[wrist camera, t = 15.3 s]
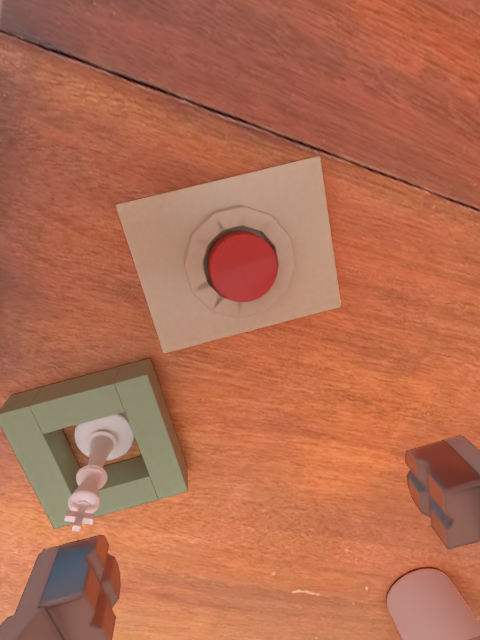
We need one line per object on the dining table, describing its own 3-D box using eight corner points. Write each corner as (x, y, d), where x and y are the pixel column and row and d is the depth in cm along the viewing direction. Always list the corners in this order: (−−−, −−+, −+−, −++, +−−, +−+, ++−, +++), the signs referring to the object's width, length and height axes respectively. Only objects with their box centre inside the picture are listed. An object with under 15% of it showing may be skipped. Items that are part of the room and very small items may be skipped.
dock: (64, 501, 35) (54, 529, 32) (11, 394, 31) (-6, 415, 28) (187, 467, 36) (188, 491, 33) (150, 357, 32) (147, 374, 29)
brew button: (216, 302, 27) (218, 309, 26) (200, 239, 26) (201, 243, 24) (277, 286, 27) (283, 292, 26) (265, 223, 26) (271, 226, 24)
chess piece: (128, 460, 34) (108, 563, 25) (69, 450, 33) (26, 554, 24) (142, 412, 33) (126, 502, 24) (81, 400, 32) (40, 489, 23)
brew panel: (164, 343, 31) (162, 364, 28) (119, 203, 28) (110, 206, 24) (331, 299, 32) (351, 314, 29) (310, 157, 28) (329, 153, 25)
